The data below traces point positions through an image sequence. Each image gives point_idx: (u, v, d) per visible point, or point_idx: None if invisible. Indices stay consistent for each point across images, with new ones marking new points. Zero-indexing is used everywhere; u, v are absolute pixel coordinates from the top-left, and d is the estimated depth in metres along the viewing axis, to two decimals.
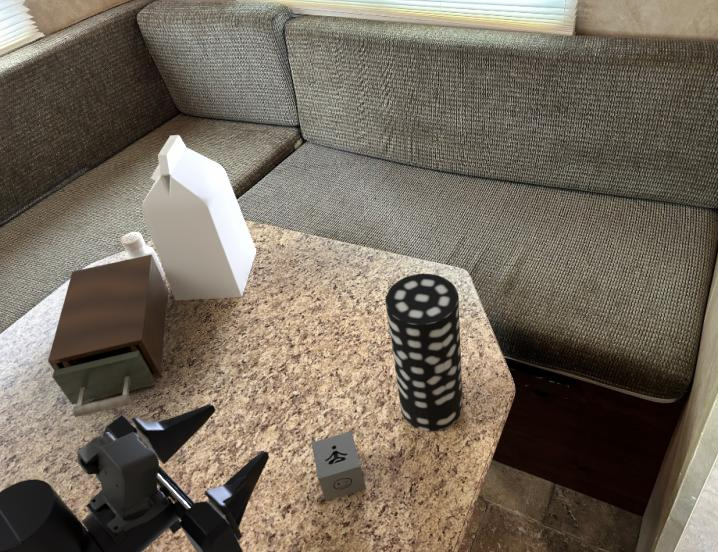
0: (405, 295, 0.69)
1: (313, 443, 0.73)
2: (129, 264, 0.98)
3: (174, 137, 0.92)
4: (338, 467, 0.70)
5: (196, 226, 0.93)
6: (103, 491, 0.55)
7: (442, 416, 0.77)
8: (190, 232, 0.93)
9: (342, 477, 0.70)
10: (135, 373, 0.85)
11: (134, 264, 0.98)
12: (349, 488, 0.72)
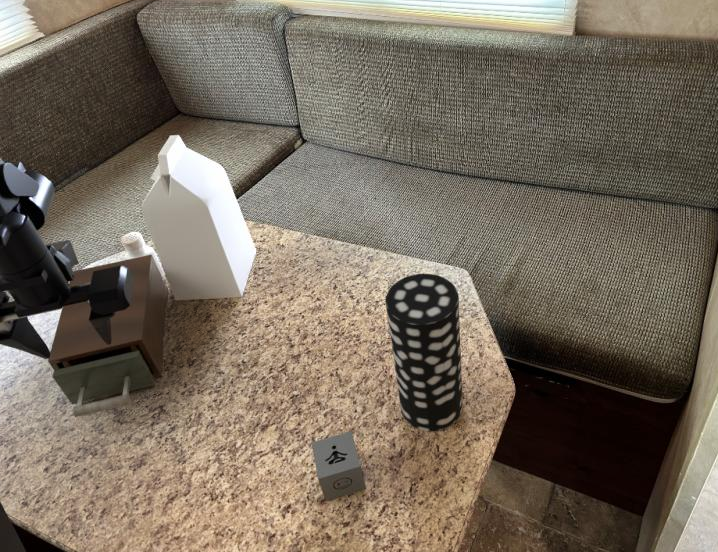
0: (405, 295, 0.69)
1: (313, 443, 0.73)
2: (129, 264, 0.98)
3: (174, 137, 0.92)
4: (338, 467, 0.70)
5: (196, 226, 0.93)
6: None
7: (442, 416, 0.77)
8: (189, 232, 0.93)
9: (342, 477, 0.70)
10: (135, 373, 0.85)
11: (134, 264, 0.98)
12: (349, 488, 0.72)
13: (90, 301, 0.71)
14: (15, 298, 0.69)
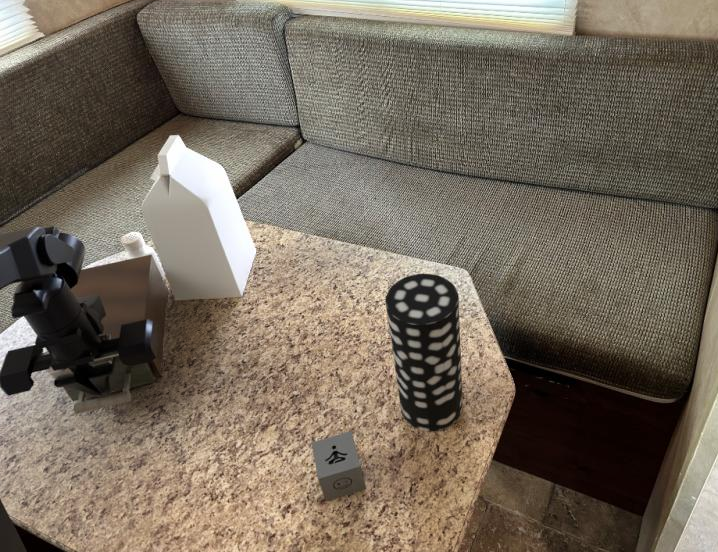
0: (405, 295, 0.69)
1: (313, 443, 0.73)
2: (129, 264, 0.98)
3: (174, 137, 0.92)
4: (338, 467, 0.70)
5: (196, 226, 0.93)
6: None
7: (442, 416, 0.77)
8: (189, 232, 0.93)
9: (342, 477, 0.70)
10: (135, 370, 0.85)
11: (134, 264, 0.98)
12: (349, 488, 0.72)
13: (119, 355, 0.77)
14: (51, 353, 0.75)
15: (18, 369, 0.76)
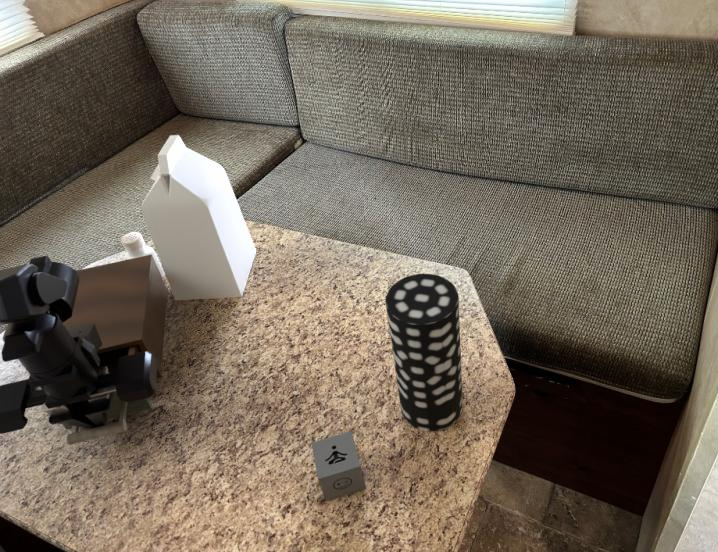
0: (405, 295, 0.69)
1: (313, 443, 0.73)
2: (129, 264, 0.98)
3: (174, 137, 0.92)
4: (338, 467, 0.70)
5: (196, 226, 0.93)
6: None
7: (442, 416, 0.77)
8: (189, 231, 0.93)
9: (342, 477, 0.70)
10: None
11: (134, 264, 0.98)
12: (349, 488, 0.72)
13: (117, 391, 0.73)
14: (45, 391, 0.71)
15: (10, 407, 0.72)
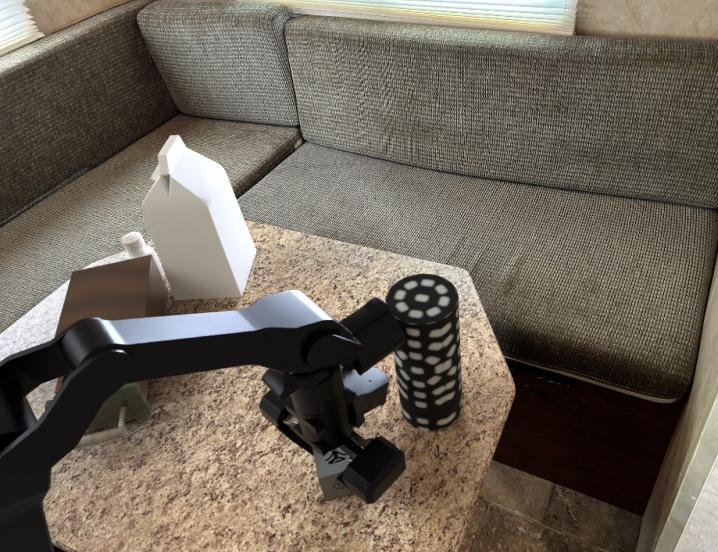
0: (405, 295, 0.69)
1: None
2: (129, 264, 0.98)
3: (174, 137, 0.92)
4: (338, 467, 0.70)
5: (196, 226, 0.93)
6: None
7: (442, 416, 0.77)
8: (189, 231, 0.93)
9: None
10: (131, 403, 0.81)
11: (134, 264, 0.98)
12: None
13: (344, 473, 0.63)
14: None
15: (277, 403, 0.70)
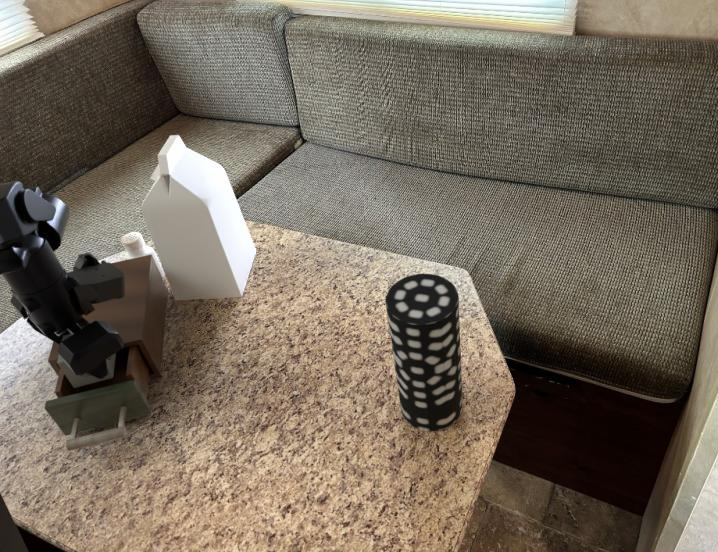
0: (405, 295, 0.69)
1: (64, 336, 0.80)
2: (129, 264, 0.98)
3: (174, 137, 0.92)
4: None
5: (196, 226, 0.93)
6: (71, 272, 0.76)
7: (442, 416, 0.77)
8: (189, 231, 0.93)
9: None
10: (131, 403, 0.81)
11: (134, 264, 0.98)
12: None
13: (58, 348, 0.71)
14: None
15: None
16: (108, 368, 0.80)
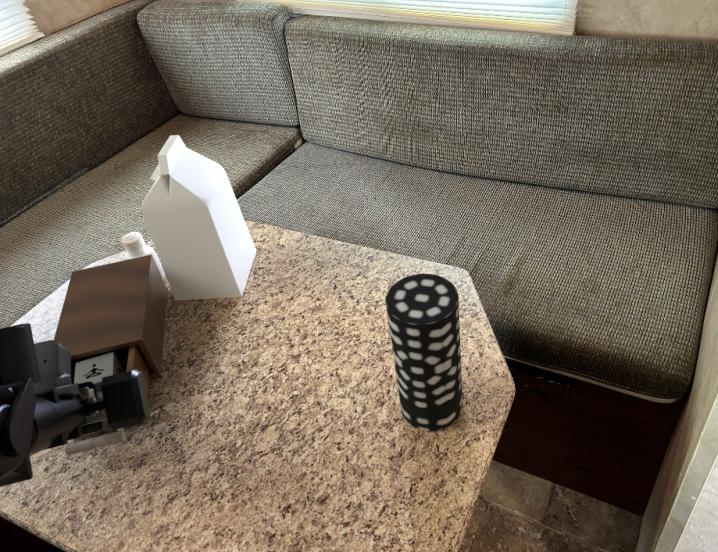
0: (405, 295, 0.69)
1: (77, 363, 0.83)
2: (129, 264, 0.98)
3: (174, 137, 0.92)
4: (93, 380, 0.81)
5: (196, 226, 0.93)
6: None
7: (442, 416, 0.77)
8: (189, 231, 0.93)
9: (98, 389, 0.81)
10: None
11: (134, 264, 0.98)
12: None
13: (112, 428, 0.69)
14: None
15: None
16: None
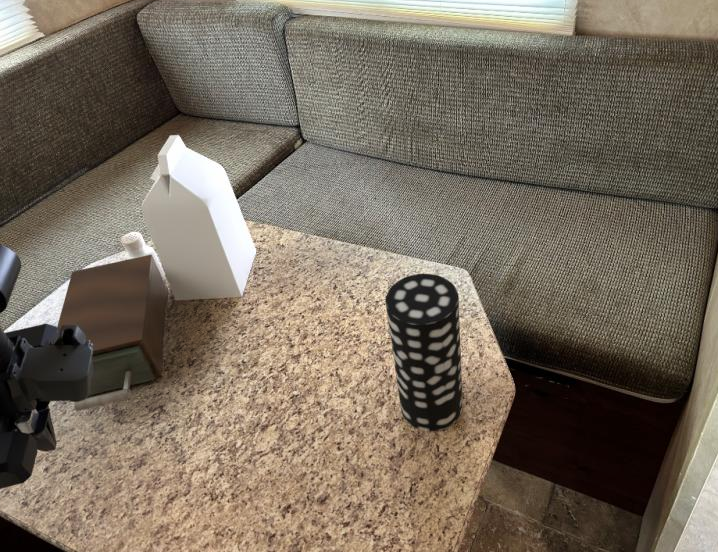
0: (405, 295, 0.69)
1: None
2: (129, 264, 0.98)
3: (174, 137, 0.92)
4: None
5: (196, 226, 0.93)
6: (35, 350, 0.60)
7: (442, 416, 0.77)
8: (189, 232, 0.93)
9: None
10: (136, 368, 0.86)
11: (134, 264, 0.98)
12: None
13: None
14: None
15: None
16: None
